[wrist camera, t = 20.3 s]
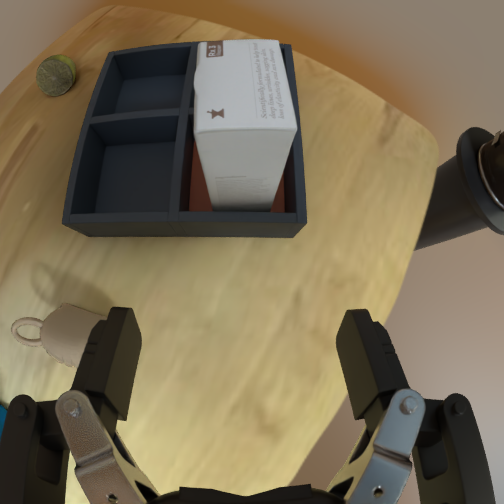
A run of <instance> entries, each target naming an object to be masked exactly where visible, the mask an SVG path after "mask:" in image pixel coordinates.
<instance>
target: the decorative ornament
mask: <svg viewBox="0 0 504 504" xmlns="http://www.w3.org/2000/svg"><path fill="white" fill-rule="evenodd" d="M100 319H101V320H107V317H105V316H102V315H98V314H95V313H92V312H89V311H86V310H83V309H80V308H78V307H75V306H73V305H70V304H67V303H62V305H61V307H60V308H59V309H57V310H55V311H54V312H52V313H51V314H50V315H49V316H48V317H47V318H46V319H45V320H44V321H42V320H40V319H37V318H32V317H26V318H21V319H18V320H16V321H15V322H14V323H13V324H12V328H11V332H12V334H13V336H14V338H15V339H16V340H17V341H19V342H20V343H22V344H24V345H27V346H35V347H38V346H43V348H44V349H46V351H47V353H48V354H49V355H50V356H51V357H53V358H55V360H56V361H57V362H59V363H65V365H66V366H69V367H72V366H74V367H76V368H78V366H79V363H80V360H81V357H82V354H83V352H84V348H85V346H86V343H87V340H88V337H89V335H90V332H91V329H92V328H93V327H94V326H95V325H96V324H97V322H98V321H99V320H100ZM22 325H33V326H36V327H39V328H40V338H39V339H27V338H24V337H22V336H20V335H19V334H18V332H17V328H18V327H20V326H22Z"/></svg>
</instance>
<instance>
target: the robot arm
mask: <svg viewBox="0 0 504 504" xmlns="http://www.w3.org/2000/svg"><path fill="white" fill-rule="evenodd" d="M500 132H501V131H499V132H497V133H496V135H495V138H493V139H492V140H490V141H489V142H488V143H485V144H483V145H482V146H480V147H479V149H478V151H477V156H476V162H477V169H478V173H479V176H480V179H481V182H482V184H483V186H484V189H485V191H486V192H487V194H488V196H489V197H490V199H491V200H492V202H493V203H494V204H495V205H496V206H497V207H498V208H499V209H501V210H502V211H504V132H502V133H501V134H500ZM141 345H142V337H141V332H140V329H139V326H138V323H137V321H136V318H135V314H134V311H133V309H132V308H126V307H112V308H111V309H110V312H109V314H108V317H107V320H101V319H100V320H99V321H98V322H97V324H96V325H95V326H94V327H93V328H92V329H91V332H90V335H89V337H88V340H87V343H86V346H85V348H84V352H83V354H82V357H81V360H80V363H79V366H78V369H77V372H76V375H75V378H74V381H73V384H72V387H71V389H70V390H69V391H67V392H65V393H63V394H62V395H61V396H60V397H59V398H58V400H53V401H42V402H35V401H34V400H33V399H32V398H31V397H30V396H28V395H18V396H16V397H15V398H14V399H13V400H12V401H11V402H10V404H9V407H8V410H7V414H6V418H5V422H4V426H3V430H2V435H1V440H0V504H65V493H66V480H67V470H68V461H69V453H70V451H71V453H72V455H73V457H74V459H75V462H76V467H75V469H74V470H75V475H76V477H77V479H78V481H79V483H80V485H81V487H82V489H83V491H84V493H85V495H86V496H87V498H88V500H89V502H90V504H397V502H398V500H399V498H400V496H401V494H402V491H403V489H404V487H405V485H406V482H407V480H408V478H409V475H410V472H411V470H412V462H411V461H410V460H409V458H410V454H411V452H412V456H413V461H414V467H415V472H416V477H417V483H418V489H419V496H420V502H421V504H496V503H495V497H494V491H493V486H492V481H491V476H490V471H489V466H488V462H487V458H486V454H485V450H484V447H483V443H482V439H481V436H480V432H479V429H478V426H477V423H476V419H475V416H474V414H473V410H472V408H471V405H470V402H469V401H468V399H467V398H466V397H465V396H463V395H461V394H458V393H454V394H451V395H449V396H448V397H447V398H446V399H445V400H432V399H424V398H423V397H422V396H421V395H420V394H419V393H418V392H416V391H415V390H412V389H411V388H410V387H409V385H408V382H407V380H406V377H405V374H404V372H403V369H402V367H401V364H400V361H399V359H398V356H397V354H396V353H395V349H394V346H393V344H391V339H390V337H389V335H388V332H387V330H386V329H385V328H384V327H383V326H382V325H381V324H380V323H379V322H378V321H377V322H373V321H372V319H371V316H370V314H369V312H368V310H367V309H354V310H347V311H346V313H345V315H344V318H343V320H342V323H341V326H340V328H339V331H338V333H337V336H336V348H337V352H338V356H339V359H340V363H341V367H342V371H343V374H344V378H345V382H346V386H347V390H348V394H349V398H350V402H351V406H352V410H353V414H354V418H355V420H359V419H365V423H366V425H365V427H364V428H363V430H362V432H361V434H360V437H359V438H358V440H357V442H356V444H355V446H354V448H353V450H352V452H351V454H350V455H349V457H348V459H347V461H346V463H345V464H344V466H343V467H342V468H341V470H340V471H339V472H338V473H337V475H336V476H335V477H334V479H333V480H332V482H331V483H330V485H329V487H328V488H327V490H326V491H323V490H320V489H315V488H311V484H306V485H299V486H289V487H279V488H276V489H272V490H269V491H266V492H262V493H258V494H255V495H251V496H240V495H235V494H231V493H226V492H222V491H218V490H214V489H205V488H190V487H179V491H174V492H170V493H167V494H164V495H160V494H159V493H158V491H157V490H156V488H155V487H154V486H153V484H152V483H151V482H150V480H149V479H148V478H147V476H146V475H145V474H144V473H143V472H142V471H141V469H140V468H139V467H138V465H137V464H136V462H135V461H134V459H133V457H132V456H131V454H130V452H129V451H128V449H127V447H126V446H125V444H124V442H123V441H122V439H121V437H120V435H119V433H118V432H117V430H116V424H117V420H122V421H126V420H127V415H128V409H129V404H130V398H131V393H132V388H133V383H134V378H135V373H136V369H137V364H138V360H139V355H140V351H141ZM374 495H375V496H374ZM116 501H117V503H116Z"/></svg>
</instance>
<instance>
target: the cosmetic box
mask: <svg viewBox="0 0 504 504" xmlns="http://www.w3.org/2000/svg"><path fill="white" fill-rule="evenodd" d="M194 89H195V99H194V136H195V141H196V145H197V150H198V154H199V158H200V161H201V165H202V169H203V173H204V176H205V180H206V185H207V188H208V193H209V197H210V201H211V205H212V209H213V211H233V212H270V210H271V207H272V204H273V201H274V198H275V194H276V191H277V189H278V186H279V183H280V180H281V177H282V174H283V170H284V168H285V164H286V161H287V158H288V155H289V151H290V148H291V145H292V142H293V139H294V137H295V134H296V131H297V122H296V117H295V113H294V108H293V103H292V98H291V93H290V89H289V84H288V79H287V75H286V70H285V66H284V62H283V58H282V53H281V49H280V46H279V41H277V40H263V39H248V40H223V41H210V42H200V43H199V44H198V51H197V65H196V72H195V75H194Z"/></svg>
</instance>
